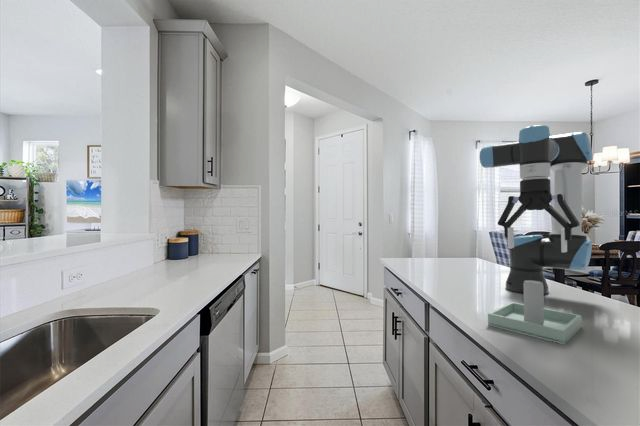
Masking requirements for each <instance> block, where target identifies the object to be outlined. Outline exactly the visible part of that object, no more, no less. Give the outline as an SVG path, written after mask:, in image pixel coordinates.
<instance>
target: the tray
mask: <svg viewBox="0 0 640 426" xmlns="http://www.w3.org/2000/svg"><path fill="white" fill-rule="evenodd" d="M487 325H488V326H490V327H494V328H497V329H501V330H506V331H510V332H514V333H518V334H521V335H526V336H528V337H529V336H530V337H532V338H536V339H541V340H545V341H549V342H552V341H553V342H552V343H556V342H557V344H560V345H565V344H566V343H567V342H569V341H570V339H571V338H572V337H573V336H574V335H575V334H576V333H578V331H579V330H580V329H581V328H582V315H580V314H575V313H571V312H565V311H560V310H554V309H550V308H545V307H544V324H543V325H540V324H535V323H531V322H527V321H524V303H517V302H513V301H510V302H508V303H506V304H504V305H502V306H500V307H499V308H498V307H497V308H496V309H494V310H492V311H490V312H489V313H487Z"/></svg>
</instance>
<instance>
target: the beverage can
mask: <svg viewBox="0 0 640 426" xmlns="http://www.w3.org/2000/svg"><path fill="white" fill-rule="evenodd" d="M523 286H524V293H523V304H524V321H527V322H531V323H535V324H540V325H543V324H544V308H545V303H544V302H545V301H544V300H545V299H544V298H545V296H544V295H545V294H544V287H543V282H540V281H533V280H525V281H524V284H523Z"/></svg>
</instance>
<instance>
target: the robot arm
mask: <svg viewBox="0 0 640 426" xmlns="http://www.w3.org/2000/svg"><path fill="white" fill-rule="evenodd" d="M592 160H593V150H592V146H591V141H590V138H589V135H588V134H587V132H585V131H577V132H570V133H564V134H556V135H552V136H551V133H550V127H549V126H548V125H545V124H537V125H531V126H527V127H523V128H522V129H520V130H519V134H518V141H516V142H510V143H508V142H507V143H503V144H496V145H489V146H485V147H482V148H481V149H480V151H479V164H480V165H481V167H483V168H484V169H489V168H491V169H493V168H498V167H499V168H500V167H508V166H517V165H519V179H521V180H520V181H519V196H514V195H510V196H508V201H507V204H506V205H505V208H504V210H503V212H502V214H501V215H500V218H499V219H498V221H497V225H498V226H500V227H503V228H504V229H503V230H504V232H503V233H504V234H503V235H504V238H507V249H509V270H510V271H509V273H508V276H507V278H506V282H505V289H506V290H508V291H510V292H514V293H519V294H524V286H523V284H524V281H525V280H533V281H540V282H543V287H544V295H546V294H547V295H548V293H549V284H548V282H547V279H546V277H545V275H544V268H551V269H561V270H568V271H585V270H586V269H587V268H588V266H589V264H590V261H591V256H592V249H593V248H592V247H593V242H592V241H591V240H590V239H588V238H587V236H588V235H587V234H586V233H585V232H583V230H582V228H583V227H582V216H583V215H582V212H583V211H582V210H583V209H582V208H583V207H582V205H583V202H582V201H583V198H582V194H583V191H582V190H583V184H582V183H583V170H585V169H586V168H587V167H588V162H590V161H592ZM551 171H553V172H554V185H553V186H554V188H553V190H554V191H553V195H552V191H551V188H552V187H551V184H552V183H551V180H550V177H551ZM552 201H553V205H554V206H552V205H551V204H550V203H552ZM518 202H519V203H520V205H519V207H518V209H517V210H515V212H513V214H512V215H511V216H510V214H511V212H512V210H513V209H514V206H515V204H517V203H518ZM534 210H536V211H542V210H545V211H546V212H547V213H548V214H549V215H550V216H551V217H552V218H553V230H552V231H551V232H550V233H548V238H544V236H543V235H542V234H531V235H520V236H515V234H514V232H515V231H514V227H513V226H512V225H513V224H514V223H515V222H517V220H518V219H519V218H520V217H521V216H522V215H523V213H525V212H526V211H534ZM509 216H510V217H509ZM508 218H509V219H508Z"/></svg>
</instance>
